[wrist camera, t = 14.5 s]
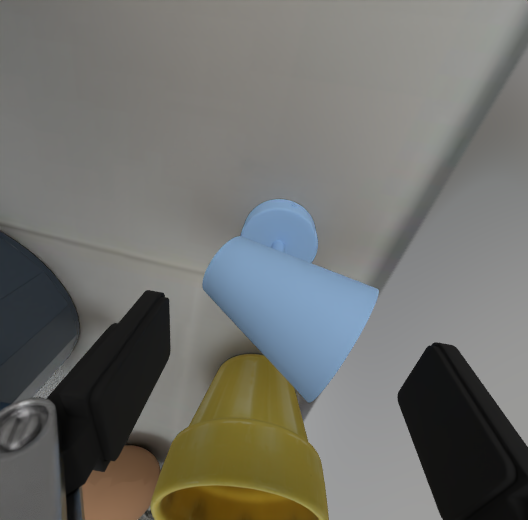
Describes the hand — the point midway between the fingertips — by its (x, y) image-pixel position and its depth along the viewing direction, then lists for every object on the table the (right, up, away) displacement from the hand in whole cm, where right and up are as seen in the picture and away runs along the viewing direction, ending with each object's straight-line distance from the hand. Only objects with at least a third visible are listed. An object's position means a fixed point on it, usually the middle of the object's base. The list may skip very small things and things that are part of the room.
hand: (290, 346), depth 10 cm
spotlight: (0, +5, +7) cm, 9 cm away
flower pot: (-2, -7, +14) cm, 16 cm away
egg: (-22, -24, +21) cm, 39 cm away
